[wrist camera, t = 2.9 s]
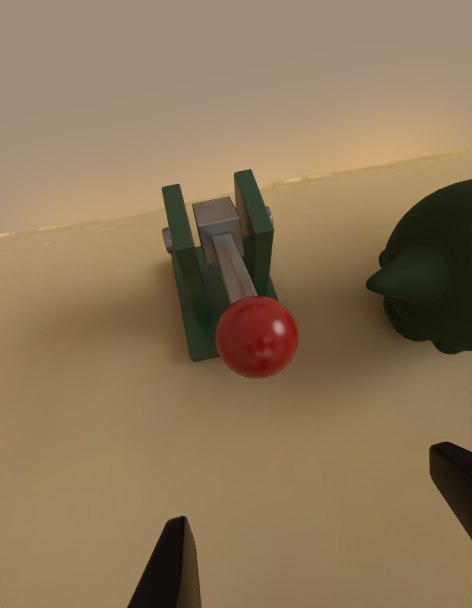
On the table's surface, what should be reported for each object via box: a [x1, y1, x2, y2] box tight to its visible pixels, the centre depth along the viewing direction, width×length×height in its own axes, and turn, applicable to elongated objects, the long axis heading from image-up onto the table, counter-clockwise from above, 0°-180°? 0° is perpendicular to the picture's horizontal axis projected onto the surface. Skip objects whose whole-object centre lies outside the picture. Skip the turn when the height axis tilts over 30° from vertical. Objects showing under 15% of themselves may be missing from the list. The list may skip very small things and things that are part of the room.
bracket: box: [162, 169, 278, 362], centre depth 21 cm, size 9×7×10 cm
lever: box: [192, 197, 298, 378], centre depth 15 cm, size 11×3×3 cm, turn 14°
